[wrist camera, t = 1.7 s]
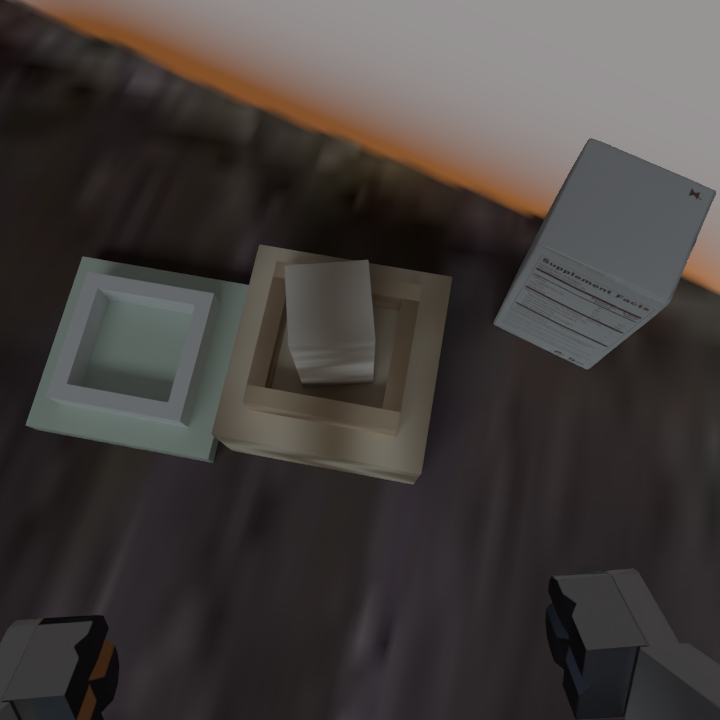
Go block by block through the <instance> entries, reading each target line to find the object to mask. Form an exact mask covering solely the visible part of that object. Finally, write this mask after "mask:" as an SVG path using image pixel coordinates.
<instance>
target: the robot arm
mask: <svg viewBox="0 0 720 720" xmlns="http://www.w3.org/2000/svg"><path fill="white" fill-rule="evenodd" d="M548 592H549V595H550V597H551V600H552V603H551V604H550V605H549V606H548V607H547V608H546V618H545V624H546V633H547V639H548V643H549V647H550V651H551V653H552V656H553V659H554V662H555V663H556V664H558V665H559V666H560V667H561V668H562V669H564V677H563V687H564V690H565V693H566V695H567V698H568V701H569V704H570V706H571V709H572V712H573V714H574V717H575V720H586V719H602V718H619V717H625V719H624V720H720V665H719V664H718V663H716V662H715V661H713V660H712V659H710V658H709V657H708V656H706V655H705V654H703V653H702V652H700V651H699V650H697V649H696V648H694V647H693V646H692V645H690V644H689V643H681V644H680V643H679V641H678V640H677V638H676V636H675V634H674V633H673V631H672V629H671V628H670V626H669V624H668V622H667V621H666V619H665V617H664V615H663V614H662V612H661V610H660V608H659V607H658V605H657V603H656V602H655V600H654V598H653V596H652V595H651V593H650V591H649V589H648V588H647V586H646V584H645V582H644V581H643V579H642V577H641V576H640V574H639V572H637V571H636V570H635V569H624V570H612V571H606V572H605V571H598V572H587V573H577V574H567V575H557V576H552V577H551V579H550V580H549V587H548ZM108 629H109V628H108V625H107V623H106V621H105V618H104V616H102V615H92V616H74V617H57V618H44V619H30V620H16V621H15V622H14V623H13V624H12V625H11V626H10V627H9V628H8V629H7V631H6V633H5V635H4V637H3V639H2V641H1V643H0V720H104V719H103V716H102V714H101V712H102V711H103V710H104V709H105V708H106V707H107V706H108V705H109V704H110V703H111V702H112V701H113V699H114V696H115V692H116V689H117V685H118V676H119V659H118V653H117V650H116V647H115V645H114V644H113V643H111V642H110V641H108V640H107V639H105V638H106V635H107V632H108Z"/></svg>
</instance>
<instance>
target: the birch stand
mask: <svg viewBox="0 0 720 720" xmlns="http://www.w3.org/2000/svg"><path fill="white" fill-rule="evenodd" d="M344 261H354V260H348V259H342V258H336V257H330V256H324V255H318V254H312V253H306V252H301V251H295V250H289V249H283V248H277V247H271V246H265V245H259V248H258V252H257V256H256V260H255V264H254V268H253V272H252V276H251V280H250V284H249V288H248V291H247V295H246V299H245V303H244V307H243V311H242V315H241V319H240V323H239V327H238V331H237V335H236V339H235V343H234V347H233V351H232V354H231V358H230V362H229V366H228V370H227V374H226V378H225V382H224V386H223V390H222V394H221V398H220V402H219V406H218V410H217V414H216V417H215V421H214V425H213V429H212V433H211V434H212V435H213V436H214V437H215V438H217V439H218V440H219V441H220V442H222V443H223V444H224V445H226V446H227V447H228V448H229V449H231V450H232V451H237V452H243V453H248V454H253V455H259V456H264V457H269V458H275V459H280V460H286V461H291V462H296V463H302V464H307V465H312V466H318V467H323V468H328V469H334V470H339V471H344V472H350V473H355V474H360V475H366V476H371V477H376V478H382V479H387V480H393V481H398V482H403V483H409V484H414V483H415V481H416V480H417V479H418V477H419V476H420V475H421V473H422V466H423V460H424V454H425V447H426V441H427V435H428V428H429V422H430V416H431V409H432V403H433V397H434V390H435V384H436V378H437V371H438V365H439V358H440V352H441V346H442V339H443V333H444V327H445V320H446V314H447V308H448V301H449V295H450V289H451V282H452V277H449V276H444V275H438V274H432V273H426V272H420V271H414V270H408V269H402V268H396V267H390V266H384V265H378V264H372V263H369V272H370V283H371V294H372V306H373V317H374V328H375V357H374V374H373V383H369V384H356V385H343V386H330V387H317V388H303V385H302V382H301V379H300V377H299V374H298V371H297V368H296V366H295V363H294V360H293V357H292V354H291V352H290V349H289V346H288V328H287V308H286V287H285V267H284V266H289V265H303V264H316V263H330V262H344Z"/></svg>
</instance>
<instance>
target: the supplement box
mask: <svg viewBox="0 0 720 720" xmlns="http://www.w3.org/2000/svg"><path fill="white" fill-rule="evenodd" d="M715 195H716V191H715V190H712V189H710V188H707V187H705V186H703V185H701V184H699V183H697V182H694V181H692V180H690V179H688V178H685V177H683V176H680V175H678V174H676V173H673V172H671V171H669V170H666V169H664V168H662V167H660V166H657V165H655V164H652V163H650V162H647V161H645V160H643V159H640V158H638V157H636V156H634V155H631V154H629V153H626V152H624V151H622V150H619V149H617V148H615V147H612V146H610V145H608V144H605V143H603V142H600V141H597V140H594V139H589V140H588V141H587V143H586V144H585V146H584V148H583V150H582V152H581V153H580V155H579V157H578V158H577V160H576V162H575V164H574V165H573V167H572V169H571V171H570V173H569V174H568V177H567V178H566V180H565V182H564V184H563V186H562V188H561V189H560V191H559V193H558V195H557V197H556V198H555V200H554V202H553V204H552V206H551V208H550V210H549V212H548V213H547V215H546V217H545V219H544V221H543V223H542V225H541V227H540V229H539V231H538V232H537V234H536V236H535V238H534V240H533V242H532V244H531V246H530V248H529V250H528V252H527V254H526V256H525V258H524V260H523V262H522V264H521V266H520V268H519V270H518V272H517V274H516V276H515V278H514V281H513V283H512V285H511V287H510V289H509V291H508V293H507V295H506V297H505V299H504V301H503V304H502V306H501V308H500V310H499V312H498V314H497V316H496V318H495V320H494V322H493V324H494V325H496V326H498V327H500V328H502V329H504V330H506V331H508V332H510V333H512V334H514V335H516V336H518V337H520V338H522V339H524V340H527V341H529V342H531V343H533V344H535V345H537V346H539V347H541V348H543V349H545V350H547V351H549V352H551V353H553V354H555V355H557V356H559V357H561V358H564V359H566V360H568V361H570V362H572V363H574V364H576V365H578V366H580V367H583V368H585V369H590V368H591V367H592V366H593V365H594V364H596V363H597V362H598V361H599V360H600V359H602V358H603V357H604V356H605V355H606V354H608V353H609V352H610V351H611V350H613V349H614V348H615V347H616V346H618V345H619V344H620V343H621V342H622V341H624V340H625V339H626V338H628V337H629V336H630V335H631V334H633V333H634V332H635V331H636V330H638V329H639V328H640V327H641V326H643V325H644V324H645V323H646V322H648V321H649V320H650V319H651V318H653V317H654V316H655V315H656V314H658V313H659V312H660V311H661V310H662V309H663V308H665V307H666V306H667V305H668V304H669V303H670V301H671V299H672V296H673V294H674V292H675V289H676V287H677V284H678V282H679V279H680V277H681V275H682V272H683V270H684V267H685V265H686V263H687V260H688V258H689V256H690V253H691V251H692V249H693V247H694V245H695V243H696V240H697V237H698V234H699V232H700V230H701V227H702V225H703V222H704V220H705V218H706V215H707V213H708V211H709V208H710V206H711V203H712V201H713V199H714V197H715Z"/></svg>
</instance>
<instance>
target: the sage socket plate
mask: <svg viewBox="0 0 720 720" xmlns="http://www.w3.org/2000/svg"><path fill="white" fill-rule="evenodd" d="M248 288H249V285H245V284H240V283H234V282H228V281H222V280H216V279H211V278H205V277H199V276H193V275H187V274H181V273H176V272H170V271H164V270H158V269H152V268H146V267H141V266H135V265H129V264H123V263H117V262H111V261H106V260H100V259H94V258H88V257H82V260H81V263H80V266H79V269H78V272H77V275H76V278H75V281H74V284H73V287H72V290H71V293H70V295H69V298H68V301H67V304H66V307H65V310H64V313H63V316H62V319H61V322H60V325H59V328H58V331H57V334H56V337H55V340H54V343H53V346H52V349H51V352H50V355H49V358H48V361H47V364H46V366H45V369H44V372H43V375H42V378H41V381H40V384H39V387H38V390H37V393H36V396H35V399H34V402H33V405H32V408H31V411H30V414H29V417H28V420H27V423H26V426H29V427H32V428H34V429H37V430H42V431H47V432H53V433H58V434H63V435H68V436H74V437H79V438H84V439H90V440H95V441H100V442H106V443H111V444H116V445H122V446H127V447H132V448H137V449H143V450H148V451H153V452H159V453H164V454H169V455H175V456H180V457H185V458H191V459H196V460H201V461H206V462H212V463H213V462H214V458H215V454H216V450H217V446H218V442H219V440H218V439H217V438H215V437H214V436H213V435H212V434H211V433H212V429H213V425H214V421H215V417H216V414H217V410H218V406H219V402H220V398H221V394H222V390H223V386H224V382H225V378H226V374H227V370H228V366H229V362H230V358H231V354H232V351H233V347H234V343H235V339H236V335H237V331H238V327H239V323H240V319H241V315H242V311H243V307H244V303H245V299H246V295H247V291H248Z"/></svg>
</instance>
